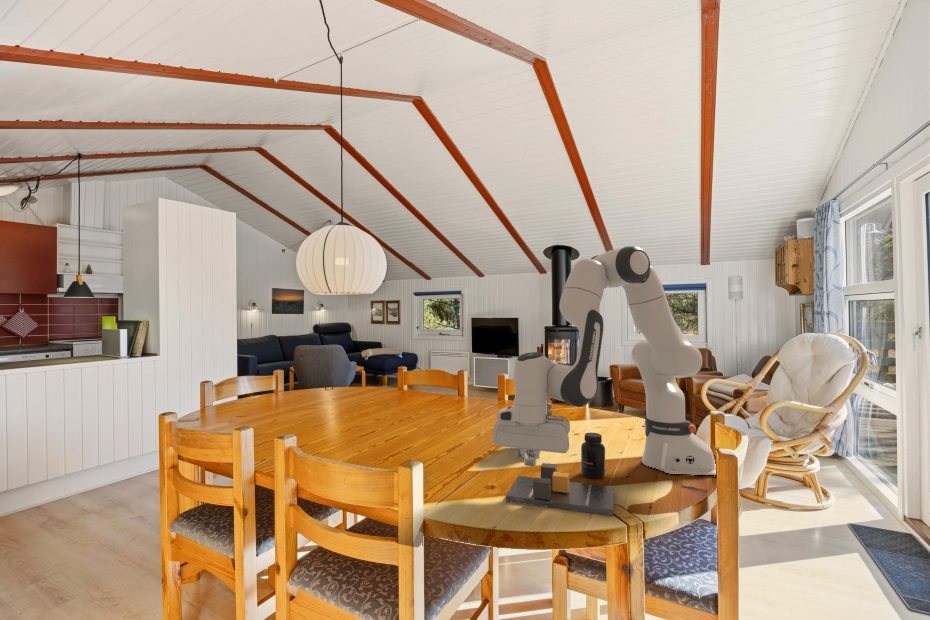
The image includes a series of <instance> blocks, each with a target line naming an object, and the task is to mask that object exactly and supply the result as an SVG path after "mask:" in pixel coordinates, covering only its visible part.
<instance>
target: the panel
mask: <svg viewBox="0 0 930 620" xmlns="http://www.w3.org/2000/svg"><path fill="white" fill-rule="evenodd" d="M534 479H535V477H532V476H525V475H524V476H523V475H518V476H517V477H516V479H515V480H514V482H513V484H512V485H511V487H510V489H509V491H508V492H507V493H506V495H505V500H506V502H509V503H516V504H521V505H528V506H529V505H530V506H535V507H544V508H552V509H560V510H565V511H566V510H567V511H574V512H581V513H589V514H593V515H594V514H596V515H601V516H609V517H610V516H611V517H614V507H613V505H614V503H615V502H614V501H615V487H614V486H608V485H600V484H592V483H583V482H574V481H569V485H570V489H569V492H568V493H565V492H557V491H553V489H552V482H551V496H550V499H549V500H548V499H540V498H533V481H534Z"/></svg>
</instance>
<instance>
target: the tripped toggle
mask: <svg viewBox="0 0 930 620" xmlns="http://www.w3.org/2000/svg"><path fill="white" fill-rule="evenodd" d="M569 482H570V473H569V472H561V471H557V472H554V473H553V475H552V489H553V491H557V492H565V493H568V492H569V489H570V485H569Z"/></svg>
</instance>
